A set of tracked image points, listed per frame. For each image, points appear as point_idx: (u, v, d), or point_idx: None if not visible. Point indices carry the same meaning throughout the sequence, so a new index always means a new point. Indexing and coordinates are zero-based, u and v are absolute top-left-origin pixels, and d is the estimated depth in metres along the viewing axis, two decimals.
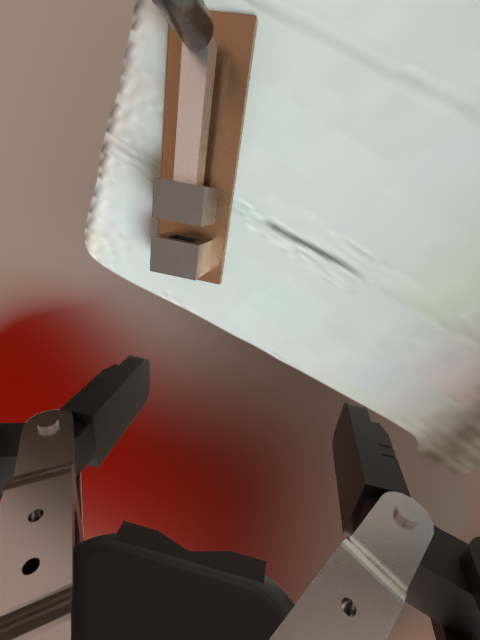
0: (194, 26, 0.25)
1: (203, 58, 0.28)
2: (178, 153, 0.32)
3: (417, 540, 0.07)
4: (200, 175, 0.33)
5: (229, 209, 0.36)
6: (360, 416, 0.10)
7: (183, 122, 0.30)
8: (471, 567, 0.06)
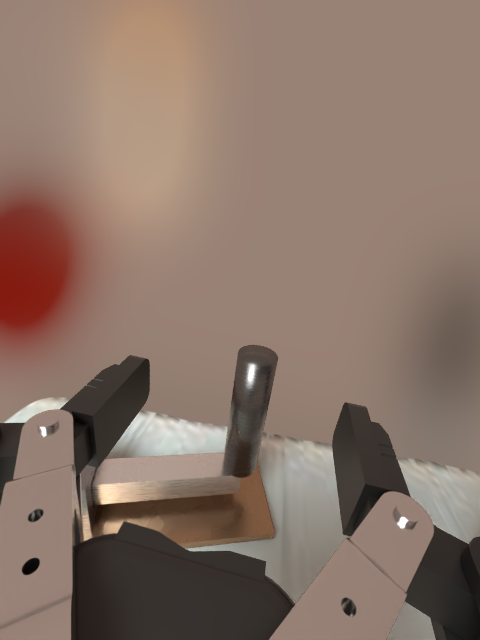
0: (233, 447, 0.27)
1: (219, 472, 0.28)
2: (130, 460, 0.28)
3: (417, 540, 0.07)
4: (105, 494, 0.26)
5: None
6: (360, 416, 0.10)
7: (161, 462, 0.28)
8: (471, 567, 0.06)
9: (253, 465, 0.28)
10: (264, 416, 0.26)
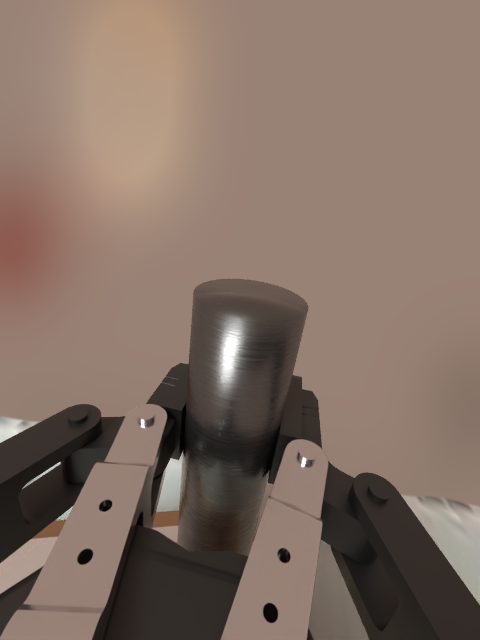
0: (191, 535, 0.11)
1: None
2: None
3: (310, 473, 0.08)
4: None
5: None
6: (293, 384, 0.12)
7: (33, 555, 0.13)
8: (357, 505, 0.07)
9: None
10: (267, 464, 0.10)
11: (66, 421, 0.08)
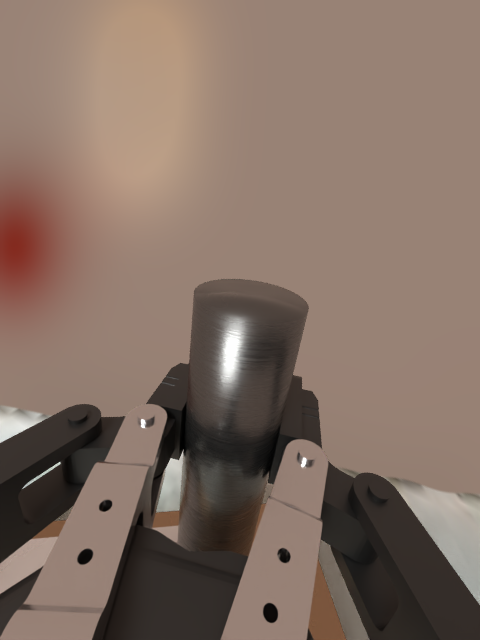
0: (191, 535, 0.11)
1: None
2: None
3: (310, 473, 0.08)
4: None
5: None
6: (293, 384, 0.12)
7: (34, 555, 0.13)
8: (357, 504, 0.07)
9: None
10: (268, 464, 0.10)
11: (66, 421, 0.08)
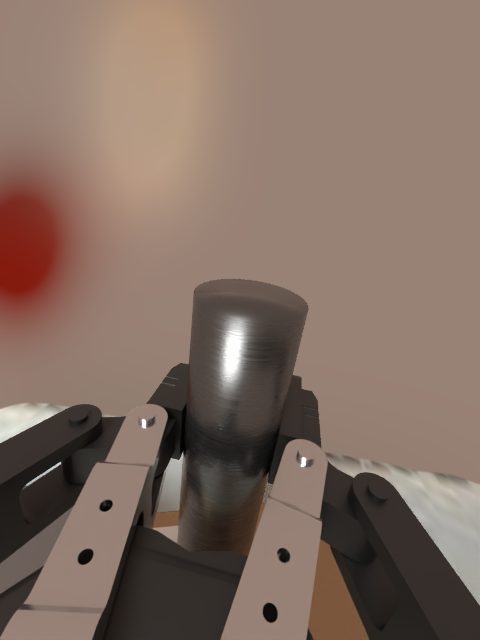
0: (191, 535, 0.11)
1: None
2: None
3: (309, 473, 0.08)
4: None
5: None
6: (292, 384, 0.12)
7: None
8: (357, 504, 0.07)
9: None
10: (268, 464, 0.10)
11: (67, 421, 0.08)
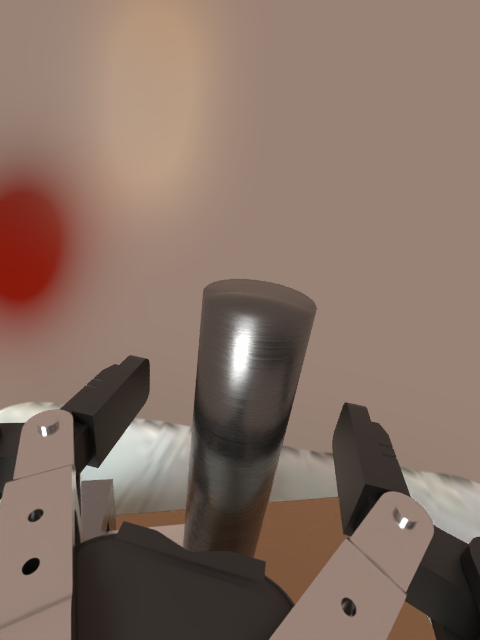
0: (198, 533, 0.11)
1: None
2: None
3: (417, 540, 0.07)
4: None
5: None
6: (360, 416, 0.10)
7: None
8: (471, 567, 0.06)
9: None
10: (275, 462, 0.10)
11: None
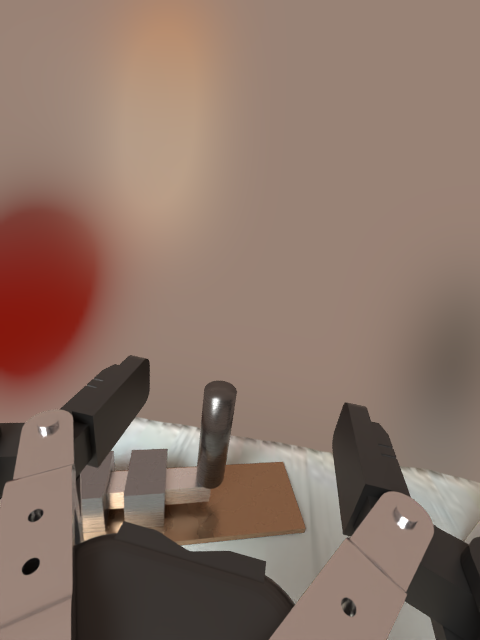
0: (202, 464, 0.32)
1: (191, 484, 0.34)
2: (117, 473, 0.34)
3: (417, 540, 0.07)
4: None
5: None
6: (360, 416, 0.10)
7: None
8: (471, 567, 0.06)
9: (220, 478, 0.34)
10: (227, 439, 0.31)
11: None
